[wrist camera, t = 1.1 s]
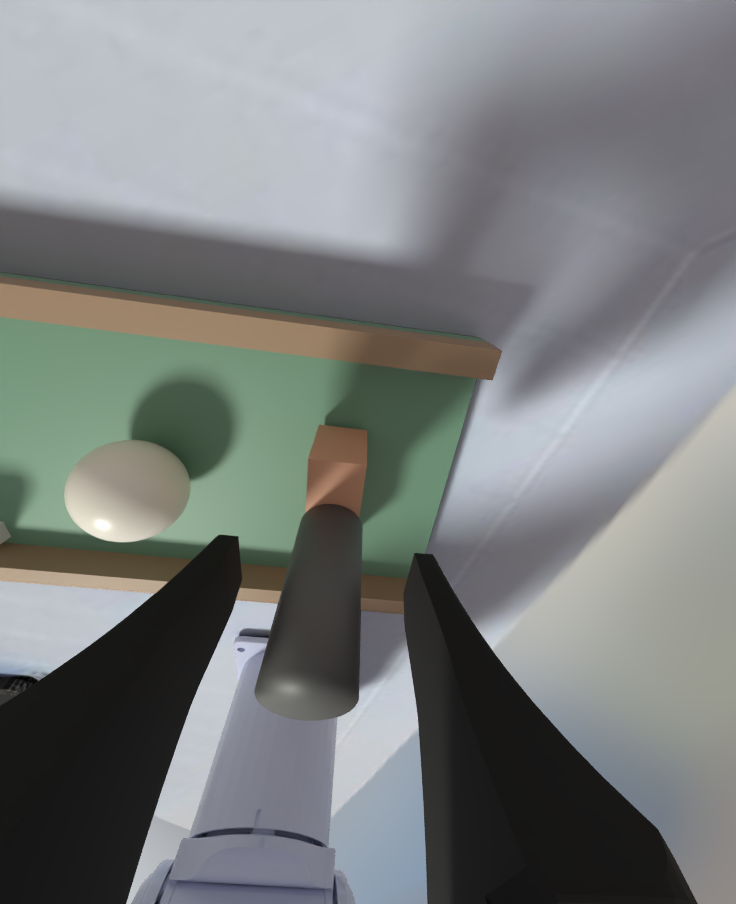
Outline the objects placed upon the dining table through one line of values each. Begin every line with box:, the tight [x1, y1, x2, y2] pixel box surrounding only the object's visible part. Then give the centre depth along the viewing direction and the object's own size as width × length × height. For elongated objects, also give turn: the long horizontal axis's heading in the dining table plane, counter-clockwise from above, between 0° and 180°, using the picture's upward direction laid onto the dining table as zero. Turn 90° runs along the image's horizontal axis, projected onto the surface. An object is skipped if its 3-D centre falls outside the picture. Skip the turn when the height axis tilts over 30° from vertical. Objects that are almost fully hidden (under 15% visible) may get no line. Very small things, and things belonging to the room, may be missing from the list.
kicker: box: [254, 425, 367, 721], centre depth 11 cm, size 6×2×8 cm, turn 173°
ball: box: [64, 440, 190, 542], centre depth 13 cm, size 4×4×4 cm
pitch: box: [0, 272, 502, 614], centre depth 14 cm, size 14×28×2 cm, turn 83°
